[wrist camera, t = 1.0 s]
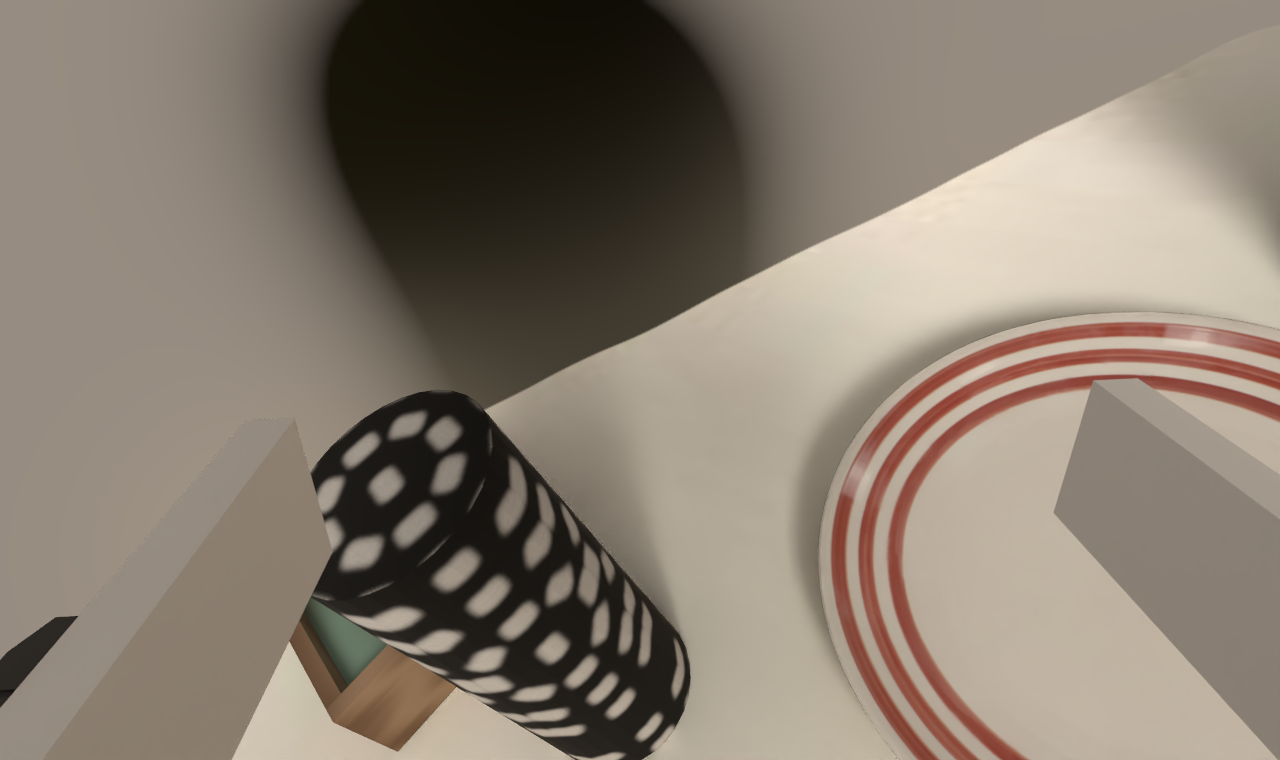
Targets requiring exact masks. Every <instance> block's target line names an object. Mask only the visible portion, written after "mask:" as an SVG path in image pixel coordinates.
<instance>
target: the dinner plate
mask: <svg viewBox="0 0 1280 760" xmlns="http://www.w3.org/2000/svg"><path fill="white" fill-rule="evenodd" d="M1134 378H1138V379H1140V380H1141V381H1143V382H1144V383H1146V384H1147V385H1148V386H1150V387H1151V388H1153V389H1154V390H1156V391H1157V392H1159V393H1160V394H1162V395H1163V396H1165V397H1166V398H1168V399H1169V400H1171V401H1172V402H1173V403H1175V404H1176V405H1178V406H1179V407H1181V408H1182V409H1184V410H1185V411H1187V412H1188V413H1190V414H1191V415H1193V416H1194V417H1196V418H1197V419H1198V420H1200V421H1201V422H1203V423H1204V424H1206V425H1207V426H1209V427H1210V428H1212V429H1213V430H1215V431H1216V432H1218V433H1219V434H1221V435H1222V436H1223V437H1225V438H1226V439H1228V440H1229V441H1231V442H1232V443H1234V444H1235V445H1237V446H1238V447H1240V448H1241V449H1243V450H1244V451H1246V452H1247V453H1248V454H1250V455H1251V456H1253V457H1254V458H1256V459H1257V460H1259V461H1260V462H1262V463H1263V464H1265V465H1266V466H1268V467H1269V468H1271V469H1272V470H1273V471H1275V472H1276V473H1278V474H1279V475H1280V330H1279V329H1275V328H1271V327H1267V326H1262V325H1258V324H1253V323H1248V322H1243V321H1237V320H1232V319H1225V318H1218V317H1211V316H1202V315H1194V314H1182V313H1168V312H1109V313H1094V314H1083V315H1074V316H1067V317H1060V318H1055V319H1049V320H1044V321H1040V322H1035V323H1031V324H1027V325H1023V326H1019V327H1015V328H1012V329H1009V330H1005V331H1002V332H999V333H996V334H993V335H990V336H987V337H984V338H982V339H979V340H976V341H974V342H972V343H970V344H968V345H965V346H963V347H961V348H959V349H957V350H955V351H953V352H951V353H949V354H947V355H945V356H943V357H942V358H940V359H938V360H936V361H935V362H933V363H932V364H930V365H929V366H927V367H926V368H924V369H922V370H921V371H919V372H918V373H916V374H915V375H914V376H912V377H911V378H910V379H908V380H907V381H906V382H905V383H903V384H902V385H901V386H900V387H899V388H898V389H896V390H895V391H894V392H893V393H892V394H891V395H890V396H888V397H887V398H886V399H885V400H884V401H883V402H882V403H881V404H880V405H879V406H878V408H877V409H876V410H875V411H874V412H873V413H872V414H871V416H870V417H869V418H868V419H867V420H866V422H865V423H864V424H863V425H862V427H861V428H860V429H859V431H858V432H857V434H856V435H855V437H854V438H853V440H852V441H851V443H850V445H849V446H848V448H847V450H846V451H845V453H844V455H843V457H842V459H841V461H840V463H839V465H838V467H837V470H836V472H835V475H834V477H833V479H832V482H831V485H830V488H829V491H828V494H827V497H826V500H825V505H824V509H823V513H822V519H821V525H820V531H819V542H818V573H819V583H820V591H821V598H822V604H823V610H824V614H825V618H826V622H827V626H828V629H829V633H830V636H831V639H832V642H833V644H834V647H835V650H836V652H837V655H838V658H839V660H840V663H841V665H842V668H843V671H844V673H845V675H846V677H847V679H848V681H849V683H850V685H851V687H852V689H853V691H854V692H855V694H856V696H857V698H858V700H859V702H860V704H861V705H862V707H863V709H864V711H865V712H866V714H867V715H868V717H869V718H870V720H871V722H872V723H873V725H874V726H875V728H876V729H877V731H878V732H879V734H880V735H881V736H882V738H883V739H884V740H885V742H886V743H887V744H888V746H889V747H890V748H891V750H892V751H893V752H894V754H895V755H896V756H897V758H898V759H899V760H1278V759H1277V758H1276V757H1275V756H1274V755H1273V754H1272V753H1271V752H1270V751H1269V749H1268V748H1267V747H1266V746H1265V745H1264V744H1263V743H1262V742H1261V741H1260V740H1259V738H1258V737H1257V736H1256V735H1255V734H1254V733H1253V732H1252V731H1251V730H1250V729H1249V727H1248V726H1247V725H1246V724H1245V723H1244V722H1243V721H1242V720H1241V719H1240V718H1239V716H1238V715H1237V714H1236V713H1235V712H1234V711H1233V710H1232V709H1231V708H1230V707H1229V705H1228V704H1227V703H1226V702H1225V701H1224V700H1223V699H1222V698H1221V697H1220V696H1219V694H1218V693H1217V692H1216V691H1215V690H1214V689H1213V688H1212V687H1211V686H1210V685H1209V683H1208V682H1207V681H1206V680H1205V679H1204V678H1203V677H1202V676H1201V675H1200V674H1199V672H1198V671H1197V670H1196V669H1195V668H1194V667H1193V666H1192V665H1191V664H1190V663H1189V661H1188V660H1187V659H1186V658H1185V657H1184V656H1183V655H1182V654H1181V653H1180V652H1179V650H1178V649H1177V648H1176V647H1175V646H1174V645H1173V644H1172V643H1171V642H1170V641H1169V639H1168V638H1167V637H1166V636H1165V635H1164V634H1163V633H1162V632H1161V631H1160V630H1159V628H1158V627H1157V626H1156V625H1155V624H1154V623H1153V622H1152V621H1151V620H1150V619H1149V617H1148V616H1147V615H1146V614H1145V613H1144V612H1143V611H1142V610H1141V609H1140V608H1139V606H1138V605H1137V604H1136V603H1135V602H1134V601H1133V600H1132V599H1131V598H1130V597H1129V595H1128V594H1127V593H1126V592H1125V591H1124V590H1123V589H1122V588H1121V587H1120V586H1119V584H1118V583H1117V582H1116V581H1115V580H1114V579H1113V578H1112V577H1111V576H1110V575H1109V573H1108V572H1107V571H1106V570H1105V569H1104V568H1103V567H1102V566H1101V565H1100V564H1099V562H1098V561H1097V560H1096V559H1095V558H1094V557H1093V556H1092V555H1091V554H1090V553H1089V551H1088V550H1087V549H1086V548H1085V547H1084V546H1083V545H1082V544H1081V543H1080V542H1079V540H1078V539H1077V538H1076V537H1075V536H1074V535H1073V534H1072V533H1071V532H1070V531H1069V529H1068V528H1067V527H1066V526H1065V525H1064V524H1063V523H1062V522H1061V521H1060V520H1059V518H1058V517H1057V516H1056V515H1055V514H1054V513H1053V512H1054V509H1055V506H1056V502H1057V499H1058V496H1059V492H1060V489H1061V486H1062V483H1063V479H1064V476H1065V473H1066V469H1067V466H1068V463H1069V459H1070V456H1071V453H1072V449H1073V446H1074V443H1075V439H1076V436H1077V433H1078V429H1079V426H1080V423H1081V420H1082V416H1083V413H1084V410H1085V406H1086V403H1087V400H1088V396H1089V393H1090V390H1091V386H1092V383H1093V380H1112V379H1134Z"/></svg>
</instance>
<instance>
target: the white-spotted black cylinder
mask: <svg viewBox="0 0 1280 760" xmlns="http://www.w3.org/2000/svg"><path fill="white" fill-rule="evenodd" d="M310 474H311V477H312V481H313V484H314V488H315V491H316V495H317V498H318V502H319V505H320V509H321V513H322V516H323V520H324V523H325V527H326V530H327V534H328V537H329V541H330V544H331V548H332V551H333V552H332V554H331V556H330V558H329V560H328V562H327V564H326V566H325V568H324V570H323V572H322V575H321V577H320V579H319V581H318V583H317V585H316V587H315V589H314V591H313V593H312V595H311V598H313V599H314V600H316V601H318V602H319V603H321V604H322V605H324V606H326V607H327V608H329V609H331V610H332V611H334V612H336V613H337V614H339V615H340V616H342V617H344V618H345V619H347V620H349V621H350V622H352V623H353V624H355V625H357V626H358V627H360V628H362V629H363V630H365V631H367V632H368V633H370V634H371V635H373V636H375V637H376V638H378V639H380V640H381V641H383V642H384V643H386V644H388V645H389V646H391V647H393V648H394V649H396V650H397V651H399V652H401V653H402V654H404V655H406V656H407V657H409V658H411V659H412V660H414V661H415V662H417V663H419V664H420V665H422V666H424V667H425V668H427V669H428V670H430V671H432V672H433V673H435V674H437V675H438V676H440V677H442V678H443V679H445V680H446V681H448V682H450V683H451V684H453V685H455V686H456V687H458V688H459V689H461V690H463V691H464V692H466V693H468V694H469V695H471V696H473V697H474V698H476V699H477V700H479V701H481V702H482V703H484V704H486V705H487V706H489V707H490V708H492V709H494V710H495V711H497V712H499V713H500V714H502V715H504V716H505V717H507V718H508V719H510V720H512V721H513V722H515V723H517V724H518V725H520V726H521V727H523V728H525V729H526V730H528V731H530V732H531V733H533V734H534V735H536V736H538V737H539V738H541V739H543V740H544V741H546V742H548V743H549V744H551V745H552V746H554V747H556V748H557V749H559V750H561V751H562V752H564V753H565V754H567V755H569V756H570V757H572V758H574V759H575V760H642V759H644V758H645V757H647V756H648V755H650V754H651V753H653V752H654V751H655V750H656V749H657V748H658V747H659V746H660V745H661V744H663V743H664V742H665V741H666V739H667V738H668V737H669V735H670V734H671V733H672V731H673V730H674V729H675V727H676V725H677V723H678V721H679V719H680V717H681V715H682V713H683V711H684V708H685V705H686V701H687V698H688V695H689V686H690V664H689V659H688V655H687V651H686V648H685V646H684V644H683V641H682V639H681V637H680V635H679V634H678V633H677V632H676V630H675V629H674V628H673V626H672V625H671V624H670V623H669V622H668V621H667V619H666V618H665V617H664V616H663V615H662V614H661V613H660V611H659V610H658V609H657V608H656V607H655V606H654V605H653V603H652V602H651V601H650V600H649V599H648V598H647V596H646V595H645V594H644V593H643V592H642V591H641V590H640V588H639V587H638V586H637V585H636V584H635V583H634V582H633V580H632V579H631V578H630V577H629V576H628V575H627V574H626V572H625V571H624V570H623V569H622V568H621V567H620V566H619V564H618V563H617V562H616V561H615V560H614V559H613V557H612V556H611V555H610V554H609V553H608V552H607V551H606V549H605V548H604V547H603V546H602V545H601V544H600V543H599V541H598V540H597V539H596V538H595V537H594V536H593V535H592V533H591V532H590V531H589V530H588V529H587V528H586V527H585V525H584V524H583V523H582V522H581V521H580V520H579V518H578V517H577V516H576V515H575V514H574V513H573V512H572V510H571V509H570V508H569V507H568V506H567V505H566V504H565V502H564V501H563V500H562V499H561V498H560V497H559V496H558V494H557V493H556V492H555V491H554V490H553V489H552V488H551V486H550V485H549V484H548V483H547V482H546V481H545V480H544V478H543V477H542V476H541V475H540V474H539V473H538V471H537V470H536V469H535V468H534V467H533V466H532V465H531V463H530V462H529V461H528V460H527V459H526V458H525V457H524V455H523V454H522V453H521V452H520V451H519V450H518V449H517V447H516V446H515V445H514V444H513V443H512V442H511V441H510V439H509V438H508V437H507V436H506V435H505V434H504V432H503V431H502V430H501V429H500V428H499V427H498V426H497V424H496V423H495V422H494V421H493V420H492V419H491V418H490V416H489V415H488V414H487V413H486V412H485V411H484V410H483V408H482V407H481V406H480V405H479V404H478V403H477V402H475V401H474V400H473V399H471V398H470V397H468V396H467V395H464V394H461V393H458V392H454V391H446V390H433V391H426V392H419V393H416V394H413V395H409V396H406V397H403V398H400V399H398V400H396V401H394V402H392V403H389V404H387V405H385V406H383V407H381V408H380V409H378V410H377V411H375V412H373V413H372V414H370V415H369V416H367V417H365V418H364V419H363V420H361V421H360V422H359V423H357V424H356V425H355V426H354V427H352V428H351V429H350V430H348V431H347V432H346V433H345V434H344V435H343V436H342V437H341V438H340V439H339V440H338V441H337V442H336V443H334V444H333V446H331V447H330V449H329V450H328V451H327V452H326V453H325V454H324V456H323V457H322V458H321V459H320V460H319V461H318V463H317V464H316V465H315V467H314V468H313V469H312V471H311V472H310Z"/></svg>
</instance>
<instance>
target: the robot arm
mask: <svg viewBox="0 0 1280 760" xmlns="http://www.w3.org/2000/svg"><path fill="white" fill-rule="evenodd" d="M1053 513H1054V514H1055V515H1056V516H1057V517H1058V518H1059V520H1060V521H1061V522H1062V523H1063V524H1064V525H1065V526H1066V527H1067V528H1068V529H1069V531H1070V532H1071V533H1072V534H1073V535H1074V536H1075V537H1076V538H1077V539H1078V540H1079V542H1080V543H1081V544H1082V545H1083V546H1084V547H1085V548H1086V549H1087V550H1088V551H1089V553H1090V554H1091V555H1092V556H1093V557H1094V558H1095V559H1096V560H1097V561H1098V562H1099V564H1100V565H1101V566H1102V567H1103V568H1104V569H1105V570H1106V571H1107V572H1108V573H1109V575H1110V576H1111V577H1112V578H1113V579H1114V580H1115V581H1116V582H1117V583H1118V584H1119V586H1120V587H1121V588H1122V589H1123V590H1124V591H1125V592H1126V593H1127V594H1128V595H1129V597H1130V598H1131V599H1132V600H1133V601H1134V602H1135V603H1136V604H1137V605H1138V606H1139V608H1140V609H1141V610H1142V611H1143V612H1144V613H1145V614H1146V615H1147V616H1148V617H1149V619H1150V620H1151V621H1152V622H1153V623H1154V624H1155V625H1156V626H1157V627H1158V628H1159V630H1160V631H1161V632H1162V633H1163V634H1164V635H1165V636H1166V637H1167V638H1168V639H1169V641H1170V642H1171V643H1172V644H1173V645H1174V646H1175V647H1176V648H1177V649H1178V650H1179V652H1180V653H1181V654H1182V655H1183V656H1184V657H1185V658H1186V659H1187V660H1188V661H1189V663H1190V664H1191V665H1192V666H1193V667H1194V668H1195V669H1196V670H1197V671H1198V672H1199V674H1200V675H1201V676H1202V677H1203V678H1204V679H1205V680H1206V681H1207V682H1208V683H1209V685H1210V686H1211V687H1212V688H1213V689H1214V690H1215V691H1216V692H1217V693H1218V694H1219V696H1220V697H1221V698H1222V699H1223V700H1224V701H1225V702H1226V703H1227V704H1228V705H1229V707H1230V708H1231V709H1232V710H1233V711H1234V712H1235V713H1236V714H1237V715H1238V716H1239V718H1240V719H1241V720H1242V721H1243V722H1244V723H1245V724H1246V725H1247V726H1248V727H1249V729H1250V730H1251V731H1252V732H1253V733H1254V734H1255V735H1256V736H1257V737H1258V738H1259V740H1260V741H1261V742H1262V743H1263V744H1264V745H1265V746H1266V747H1267V748H1268V749H1269V751H1270V752H1271V753H1272V754H1273V755H1274V756H1275V757H1276V758H1277V759H1278V760H1280V475H1279V474H1278V473H1276V472H1275V471H1273V470H1272V469H1271V468H1269V467H1268V466H1266V465H1265V464H1263V463H1262V462H1260V461H1259V460H1257V459H1256V458H1254V457H1253V456H1251V455H1250V454H1248V453H1247V452H1246V451H1244V450H1243V449H1241V448H1240V447H1238V446H1237V445H1235V444H1234V443H1232V442H1231V441H1229V440H1228V439H1226V438H1225V437H1223V436H1222V435H1221V434H1219V433H1218V432H1216V431H1215V430H1213V429H1212V428H1210V427H1209V426H1207V425H1206V424H1204V423H1203V422H1201V421H1200V420H1198V419H1197V418H1196V417H1194V416H1193V415H1191V414H1190V413H1188V412H1187V411H1185V410H1184V409H1182V408H1181V407H1179V406H1178V405H1176V404H1175V403H1173V402H1172V401H1171V400H1169V399H1168V398H1166V397H1165V396H1163V395H1162V394H1160V393H1159V392H1157V391H1156V390H1154V389H1153V388H1151V387H1150V386H1148V385H1147V384H1146V383H1144V382H1143V381H1141V380H1140V379H1138V378H1134V379H1112V380H1093V383H1092V386H1091V390H1090V393H1089V396H1088V400H1087V403H1086V406H1085V410H1084V413H1083V416H1082V420H1081V423H1080V426H1079V429H1078V433H1077V436H1076V439H1075V443H1074V446H1073V449H1072V453H1071V456H1070V459H1069V463H1068V466H1067V469H1066V473H1065V476H1064V479H1063V483H1062V486H1061V489H1060V492H1059V496H1058V499H1057V502H1056V506H1055V509H1054V512H1053ZM332 552H333V551H332V548H331V544H330V541H329V537H328V534H327V530H326V527H325V523H324V520H323V516H322V513H321V509H320V505H319V502H318V498H317V495H316V491H315V488H314V484H313V481H312V477H311V474H310V470H309V467H308V463H307V460H306V456H305V453H304V449H303V445H302V442H301V438H300V435H299V431H298V428H297V425H296V421H295V418H279V419H259V420H246V421H245V422H244V423H243V424H242V425H241V426H240V428H239V429H238V430H237V431H236V432H235V434H234V435H233V436H232V437H231V438H230V439H229V440H228V442H227V443H226V444H225V445H224V446H223V448H222V449H221V450H220V451H219V452H218V453H217V455H216V456H215V457H214V458H213V459H212V460H211V462H210V463H209V464H208V465H207V466H206V468H205V469H204V470H203V471H202V472H201V473H200V475H199V476H198V477H197V478H196V479H195V480H194V482H193V483H192V484H191V485H190V486H189V487H188V489H187V490H186V491H185V492H184V493H183V494H182V496H181V497H180V498H179V499H178V500H177V501H176V503H175V504H174V505H173V506H172V507H171V508H170V510H169V511H168V512H167V513H166V514H165V516H164V517H163V518H162V519H161V520H160V522H159V523H158V524H157V525H156V526H155V527H154V528H153V530H152V531H151V532H150V533H149V534H148V535H147V537H146V538H145V539H144V540H143V541H142V543H141V544H140V545H139V546H138V547H137V548H136V550H135V551H134V552H133V553H132V554H131V556H130V557H129V558H128V559H127V560H126V561H125V562H124V564H123V565H122V566H121V567H120V568H119V569H118V571H117V572H116V573H115V574H114V575H113V577H112V578H111V579H110V580H109V581H108V582H107V584H106V585H105V586H104V587H103V588H102V590H101V591H100V592H99V593H98V594H97V595H96V596H95V598H94V599H93V600H92V601H91V602H90V603H89V605H88V606H87V607H86V608H85V609H84V610H83V612H82V613H81V614H80V615H79V616H70V617H56V618H54V619H53V620H51V621H50V622H49V623H47V624H46V625H44V626H43V627H42V628H40V629H39V630H38V631H36V632H35V633H33V634H32V635H31V636H29V637H28V638H26V639H25V640H24V641H22V642H21V643H19V644H18V645H17V646H15V647H14V648H12V649H11V650H10V651H8V652H7V653H6V654H5V656H4V657H3V658H2V659H1V660H0V760H232V758H233V756H234V754H235V752H236V749H237V747H238V745H239V743H240V741H241V739H242V737H243V735H244V733H245V731H246V729H247V727H248V725H249V723H250V721H251V719H252V717H253V714H254V712H255V710H256V708H257V706H258V704H259V702H260V700H261V698H262V696H263V694H264V692H265V690H266V688H267V686H268V684H269V682H270V679H271V677H272V675H273V673H274V671H275V669H276V667H277V665H278V663H279V661H280V659H281V657H282V655H283V653H284V651H285V649H286V647H287V644H288V642H289V640H290V638H291V636H292V634H293V632H294V630H295V628H296V626H297V624H298V622H299V620H300V618H301V616H302V614H303V612H304V610H305V607H306V605H307V603H308V601H309V599H310V597H311V595H312V593H313V591H314V589H315V587H316V585H317V583H318V581H319V579H320V577H321V575H322V572H323V570H324V568H325V566H326V564H327V562H328V560H329V558H330V556H331V554H332Z"/></svg>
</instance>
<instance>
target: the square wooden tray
mask: <svg viewBox="0 0 1280 760" xmlns="http://www.w3.org/2000/svg"><path fill="white" fill-rule="evenodd" d="M289 641H290V643H291V645H292V647H293V649H294V651H295V652H296V654H297V656H298V658H299V660H300V662H301V664H302V665H303V667H304V669H305V671H306V673H307V675H308V677H309V678H310V680H311V682H312V684H313V686H314V688H315V690H316V691H317V693H318V695H319V697H320V699H321V701H322V703H323V704H324V706H325V708H326V710H327V712H328V714H329V716H330V717H331V719H332V721H333V722H334V723H336V724H338V725H340V726H342V727H345V728H347V729H349V730H351V731H353V732H356V733H358V734H360V735H362V736H364V737H367V738H369V739H371V740H373V741H375V742H378V743H380V744H382V745H384V746H386V747H389V748H391V749H393V750H395V751H397V752H398V751H399V750H400V749H401V748H402V746H403V745H404V744H405V743H406V742H407V741H408V740H409V739H410V738H411V736H412V735H413V734H414V733H415V732H416V731H417V730H418V729H419V728H420V726H421V725H422V724H423V723H424V722H425V721H426V720H427V719H428V718H429V716H430V715H431V714H432V713H433V712H434V711H435V710H436V709H437V708H438V706H439V705H440V704H441V703H442V702H443V701H444V700H445V699H446V698H447V696H448V695H449V694H450V693H451V692H452V691H453V690H454V689H455V687H456V686H455V685H453V684H451V683H450V682H448V681H446V680H445V679H443V678H442V677H440V676H438V675H437V674H435V673H433V672H432V671H430V670H428V669H427V668H425V667H424V666H422V665H420V664H419V663H417V662H415V661H414V660H412V659H411V658H409V657H407V656H406V655H404V654H402V653H401V652H399V651H397V650H396V649H394V648H393V647H391V646H389V645H388V644H386V643H384V642H383V641H381V640H380V639H378V638H376V637H375V636H373V635H371V634H370V633H368V632H367V631H365V630H363V629H362V628H360V627H358V626H357V625H355V624H353V623H352V622H350V621H349V620H347V619H345V618H344V617H342V616H340V615H339V614H337V613H336V612H334V611H332V610H331V609H329V608H327V607H326V606H324V605H322V604H321V603H319V602H318V601H316V600H314V599H313V598H311V597H310V599H309V601H308V603H307V605H306V607H305V610H304V612H303V614H302V616H301V618H300V620H299V622H298V624H297V626H296V628H295V630H294V632H293V634H292V636H291V638H290V640H289Z"/></svg>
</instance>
